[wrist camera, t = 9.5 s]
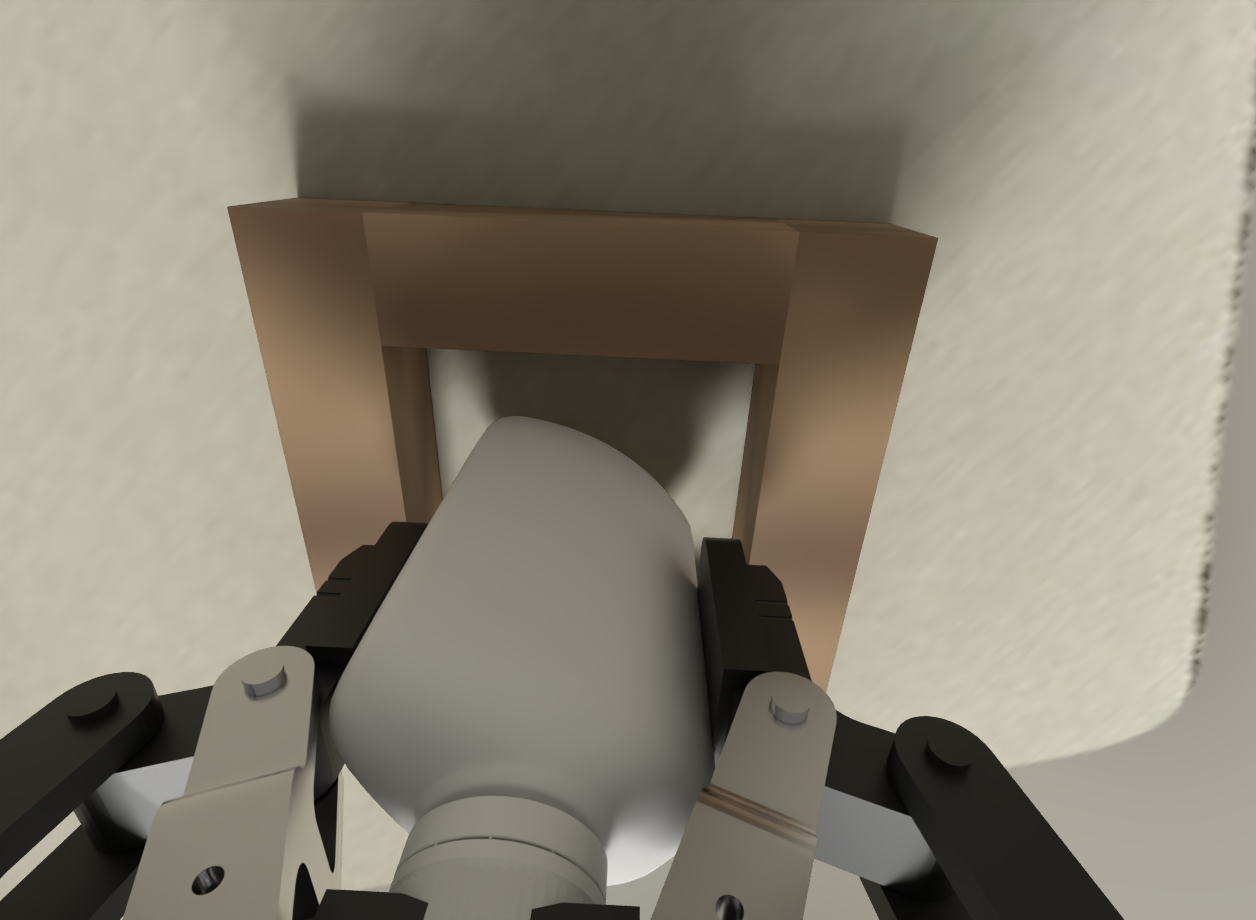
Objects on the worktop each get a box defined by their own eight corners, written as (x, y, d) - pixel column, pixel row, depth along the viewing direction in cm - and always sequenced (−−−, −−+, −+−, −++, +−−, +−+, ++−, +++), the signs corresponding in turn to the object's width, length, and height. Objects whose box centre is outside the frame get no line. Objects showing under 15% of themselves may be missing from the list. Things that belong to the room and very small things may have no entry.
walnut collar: (296, 197, 14) (227, 206, 11) (890, 223, 13) (938, 238, 11) (379, 647, 19) (343, 711, 17) (795, 669, 19) (814, 737, 17)
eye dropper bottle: (560, 609, 17) (401, 1419, 6) (441, 440, 15) (-126, 1234, 4) (708, 551, 16) (830, 1396, 5) (604, 360, 14) (439, 1134, 3)
